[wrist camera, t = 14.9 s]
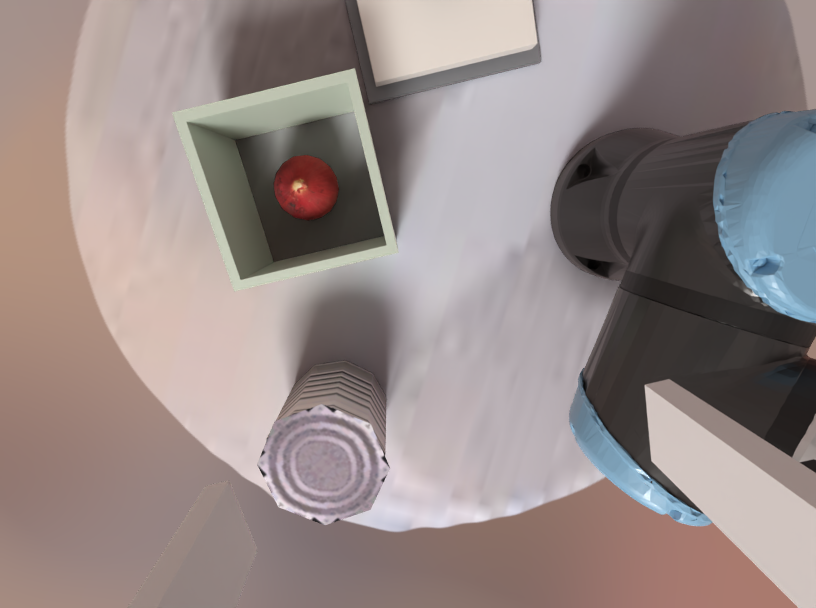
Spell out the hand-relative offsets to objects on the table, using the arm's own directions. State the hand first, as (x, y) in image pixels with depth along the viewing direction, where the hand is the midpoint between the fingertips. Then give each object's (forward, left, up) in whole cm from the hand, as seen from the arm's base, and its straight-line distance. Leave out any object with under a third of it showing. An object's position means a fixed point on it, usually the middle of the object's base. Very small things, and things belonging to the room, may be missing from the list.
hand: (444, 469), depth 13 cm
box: (+7, -11, -33) cm, 35 cm away
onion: (+7, -11, -33) cm, 35 cm away
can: (+11, +13, -33) cm, 37 cm away
